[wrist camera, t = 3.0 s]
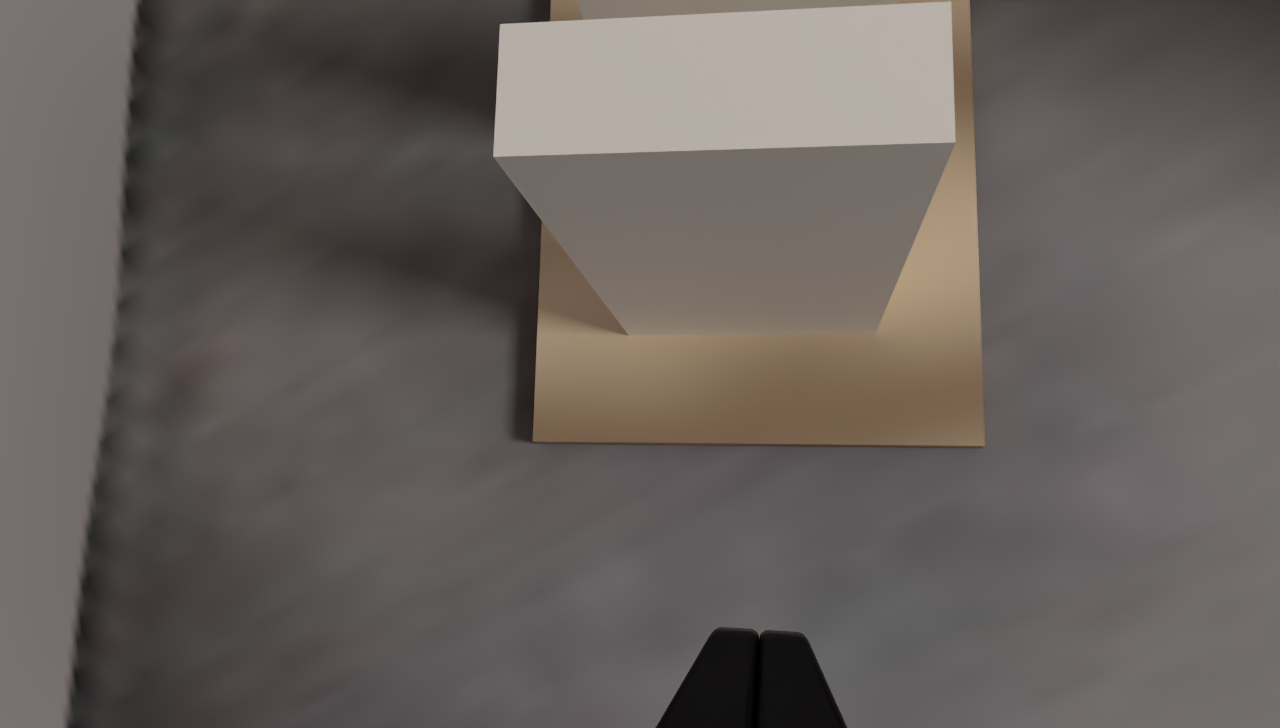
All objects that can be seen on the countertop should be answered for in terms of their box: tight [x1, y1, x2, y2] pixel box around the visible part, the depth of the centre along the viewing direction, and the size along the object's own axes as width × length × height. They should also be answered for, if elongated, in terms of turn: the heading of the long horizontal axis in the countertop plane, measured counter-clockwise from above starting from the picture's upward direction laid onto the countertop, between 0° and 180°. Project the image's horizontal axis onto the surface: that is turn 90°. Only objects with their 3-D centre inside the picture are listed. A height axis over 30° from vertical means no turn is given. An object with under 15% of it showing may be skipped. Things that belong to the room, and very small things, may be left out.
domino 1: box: [493, 1, 956, 336], centre depth 16 cm, size 2×5×10 cm, turn 88°
